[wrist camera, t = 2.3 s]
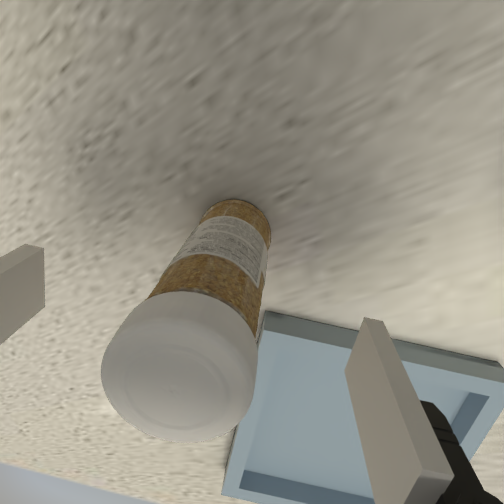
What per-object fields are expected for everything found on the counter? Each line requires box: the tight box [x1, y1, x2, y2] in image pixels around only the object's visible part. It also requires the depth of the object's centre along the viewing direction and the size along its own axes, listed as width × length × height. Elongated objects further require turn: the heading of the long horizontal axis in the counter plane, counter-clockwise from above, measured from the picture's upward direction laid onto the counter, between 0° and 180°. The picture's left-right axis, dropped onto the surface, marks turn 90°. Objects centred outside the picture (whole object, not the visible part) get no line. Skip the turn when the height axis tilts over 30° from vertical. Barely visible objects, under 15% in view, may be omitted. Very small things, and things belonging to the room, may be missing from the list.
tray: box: [221, 311, 504, 504], centre depth 27 cm, size 16×16×2 cm
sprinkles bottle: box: [101, 199, 271, 443], centre depth 17 cm, size 5×5×14 cm
